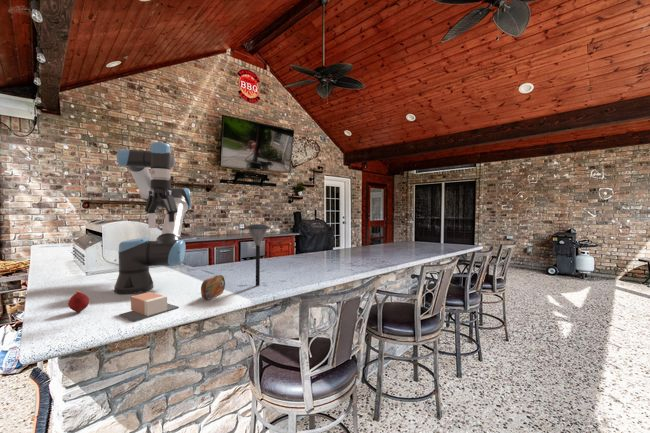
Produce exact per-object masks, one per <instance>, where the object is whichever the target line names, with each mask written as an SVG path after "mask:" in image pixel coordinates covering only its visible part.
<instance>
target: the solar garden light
mask: <svg viewBox="0 0 650 433" xmlns="http://www.w3.org/2000/svg"><path fill="white" fill-rule="evenodd" d="M244 229H246V230H248V231H249V233H250V236H251V238H252V240H253V243H254V244H255V287H260V285H261V283H260V282H261V281H260V280H261V278H260V277H261V275H260V273H261V272H260V271H261V270H260V269H261V267H260V264H261V262H260V261H261V260H260V259H261V251H260V250H261V247H260V246H261V243H262V241H263V239H264V238H265V237H264V236H266V235H265V234H266V232H267V230H270V229H271V227H270V226H268V225H266V224H264V223H263V224H262V223H261V224H260V223H257V224H256V223H255V224H250V225H248V226H246V227H245V228H244Z"/></svg>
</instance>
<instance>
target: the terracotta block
mask: <svg viewBox="0 0 650 433" xmlns="http://www.w3.org/2000/svg"><path fill="white" fill-rule="evenodd" d="M167 303H168V297H167V296H166V295H162V294H159V293H156V292H152V291H149V292H145V293H144V292H143V293H141V294H137V295H132V296H130V311H135V312H138V313H141V314H143V315H146V316H149V315H153V314H156V313H159V312H163V311H166V310H167Z"/></svg>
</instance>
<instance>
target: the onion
mask: <svg viewBox="0 0 650 433" xmlns="http://www.w3.org/2000/svg"><path fill="white" fill-rule="evenodd" d="M89 304H90V299H89V296H88V295H87V294H85V293H84V292H81V291H80V290H76V292H75V293H74V294H73V295H72V296H71V297H70V298H69V300H68V307H69V309H70V310H72V311H74V312H75V313H77V314H78V313H81V312H82V311H84V310H86V309H87V308H88V306H89Z"/></svg>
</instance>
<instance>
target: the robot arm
mask: <svg viewBox="0 0 650 433" xmlns="http://www.w3.org/2000/svg"><path fill="white" fill-rule="evenodd" d="M149 149H150V150H143V149H130V148H127V149H125V148H124V149H121V148H120V149H119V150H117V153H116V161H117V162H116V163H117V164H118V166H120V167H124V168H126V167H127V169H128V170H129V172H130V175H131V176H132V178H133V180H134V182H135V183H136V186H137V188H138V194H139V196H140V198H141V199H142V200H143V201H144V202H146V204H145V210H144V212H146V213H147V214H148V229H156V226H157V224H156V221H157V220H156V210H157V208H159V209H165V210H166V211H165V212H166V213H165V216H164V220H163V226H162V229H161V234H160V235H158V236H157V238H156V240H150V239H149V237H141V238H140V237H139V238H132V239H127V240H123V241H121V242H120V243H119V244H118V252H117V253H118V276H117V280H115V281H116V282H115V285H114V294H117V295H118V294H120V295H130V294H131V295H133V294H138V293H144V292H147V291H151V290H153V288H154V281H153V278H152V275H151V273H150V267H156V266H157V267H158V266H161V267H162V266H177V265H181V264H182V263H183V262H184V258H185V256H186V246H187V245H186V241H185V240H183V238H182V237H181V234H182V229H183V221H184V216H185V213H186V212H187V211H188V209H191V208H192V200H191V198H192V197H191V192H190V191H191V190H190V188H185V187H171V185H172V184H171V178H172V176H171V169H172V168H173V167H174V166H175V165H176V160H175V156H174V155H173V154H172V153H171V145H170V144H169V143H166V142H161V141H154V142H151V143H150V147H149ZM149 168H150V170H149Z"/></svg>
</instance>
